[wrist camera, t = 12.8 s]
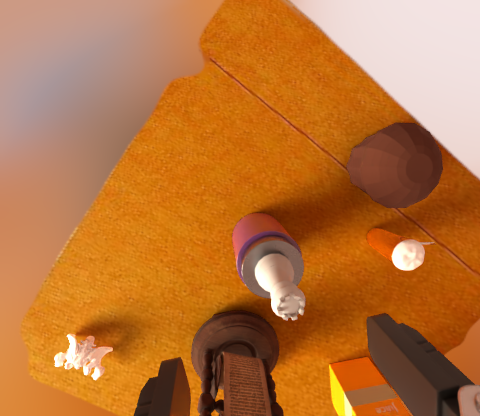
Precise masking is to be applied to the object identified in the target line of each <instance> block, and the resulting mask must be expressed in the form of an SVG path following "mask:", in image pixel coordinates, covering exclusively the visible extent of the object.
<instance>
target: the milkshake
mask: <svg viewBox="0 0 480 416" xmlns="http://www.w3.org/2000/svg"><path fill="white" fill-rule="evenodd" d="M366 240H367V242H368V244H369V245H370V246H371V247H373V248H374V249H375V250H377V251H378V252H379V253H380V254H382V255H383V256H384V257H385V258H387V259H388V260H389V261H390V262H391V263H393V264H394V265H395V266H396V267H397V268H399V269H401V270H413V269H415V268H417V267H418V266H420V265H421V264H422V263H423V260H424V255H425V251H424V248H423V246H422V245H421V244H430V245H436V244H435V243H434V242H418V241H416V240H413V239H410V238H406V237H403V236H400V235H396V234H394V233H391V232H388V231H385V230H382V229H380V228H374V229H371V230H370V231H369V233H368V234H367V238H366Z"/></svg>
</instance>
